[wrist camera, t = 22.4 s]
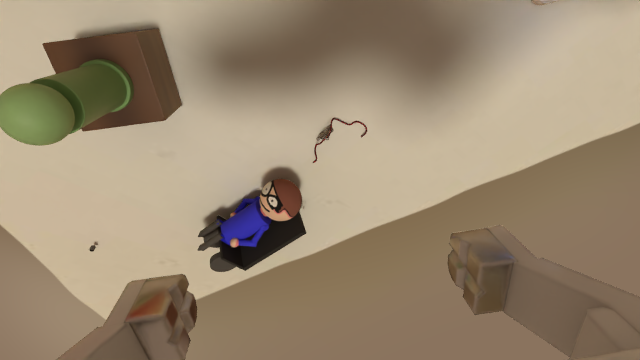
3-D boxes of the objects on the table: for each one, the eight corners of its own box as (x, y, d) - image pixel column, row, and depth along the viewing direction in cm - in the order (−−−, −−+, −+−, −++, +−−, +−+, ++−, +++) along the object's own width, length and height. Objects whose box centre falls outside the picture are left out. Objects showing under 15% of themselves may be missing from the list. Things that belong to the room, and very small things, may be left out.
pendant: (348, 103, 40) (352, 109, 37) (369, 130, 41) (374, 137, 39) (297, 144, 41) (297, 152, 39) (319, 168, 43) (321, 178, 41)
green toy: (122, 55, 30) (34, 80, 19) (141, 106, 32) (71, 153, 21) (70, 62, 29) (-48, 91, 19) (92, 113, 32) (-3, 163, 21)
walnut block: (158, 28, 34) (135, 31, 29) (182, 105, 38) (165, 120, 33) (79, 38, 34) (41, 43, 29) (111, 114, 38) (82, 131, 32)
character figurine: (195, 219, 45) (286, 161, 43) (230, 256, 48) (317, 202, 45) (176, 253, 38) (284, 185, 35) (218, 294, 41) (321, 233, 38)
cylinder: (88, 249, 44) (91, 245, 44) (89, 251, 44) (92, 246, 44) (92, 249, 44) (94, 245, 44) (93, 251, 44) (96, 247, 44)
